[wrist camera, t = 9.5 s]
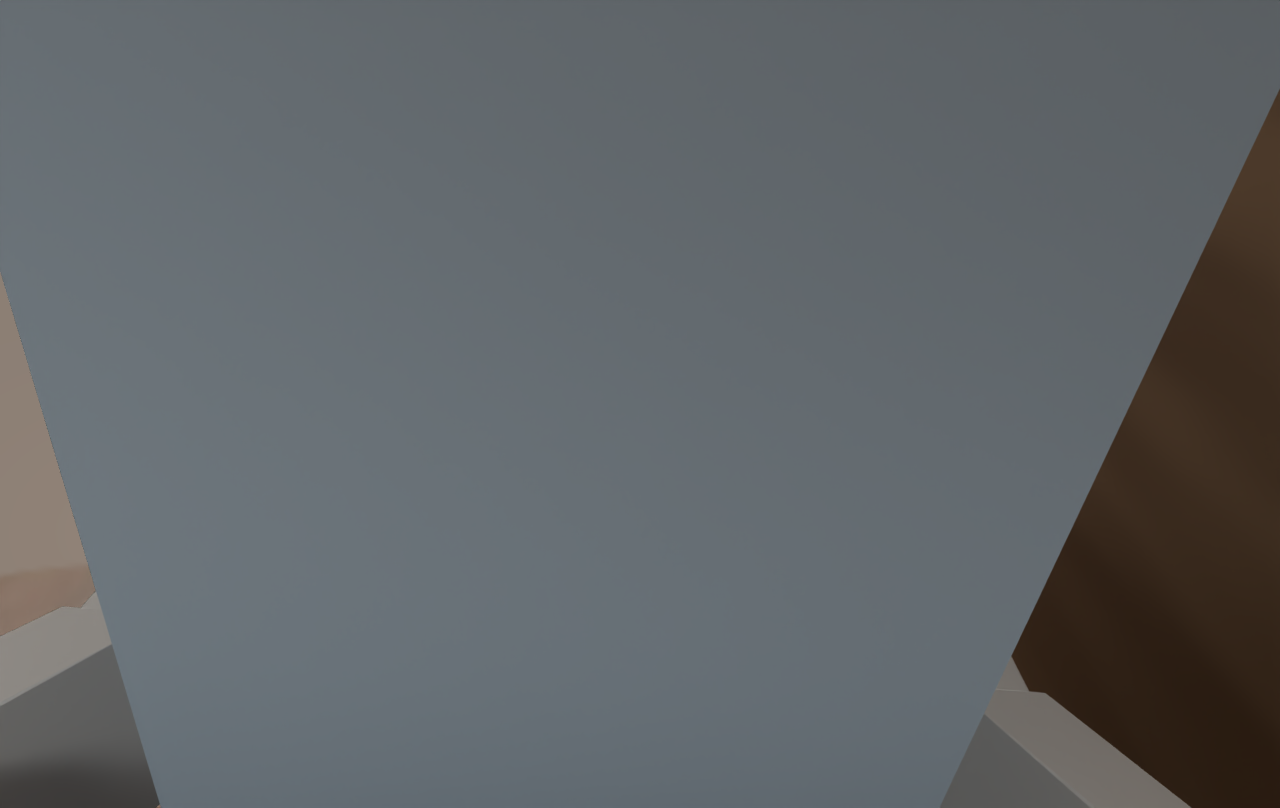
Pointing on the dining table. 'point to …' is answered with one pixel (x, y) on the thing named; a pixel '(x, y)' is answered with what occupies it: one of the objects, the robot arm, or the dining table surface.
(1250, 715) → the wooden flat block
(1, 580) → the dining table surface
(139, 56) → the grey block with tab
